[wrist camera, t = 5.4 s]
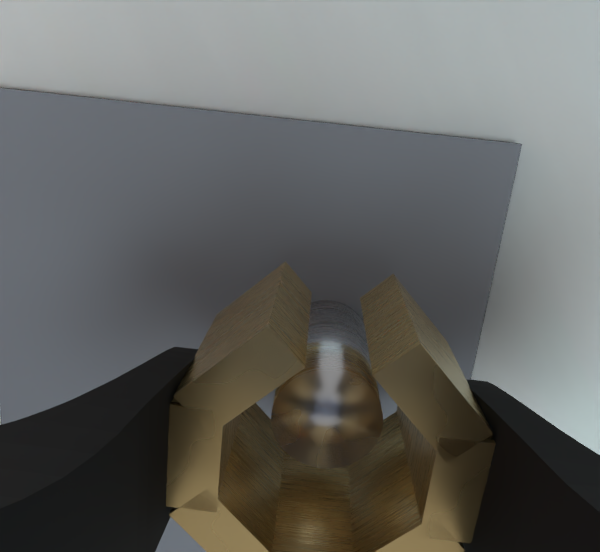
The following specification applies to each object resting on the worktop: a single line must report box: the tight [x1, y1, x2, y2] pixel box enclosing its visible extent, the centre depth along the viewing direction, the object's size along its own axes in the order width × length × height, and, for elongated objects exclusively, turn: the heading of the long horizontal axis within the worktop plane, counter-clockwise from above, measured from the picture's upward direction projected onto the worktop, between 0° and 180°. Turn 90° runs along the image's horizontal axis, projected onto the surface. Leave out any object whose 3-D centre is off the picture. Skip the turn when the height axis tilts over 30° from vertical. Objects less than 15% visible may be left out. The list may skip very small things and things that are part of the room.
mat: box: [0, 88, 522, 552], centre depth 15 cm, size 15×13×1 cm
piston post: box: [271, 300, 383, 469], centre depth 13 cm, size 2×2×4 cm
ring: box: [166, 261, 496, 552], centre depth 11 cm, size 5×5×4 cm
